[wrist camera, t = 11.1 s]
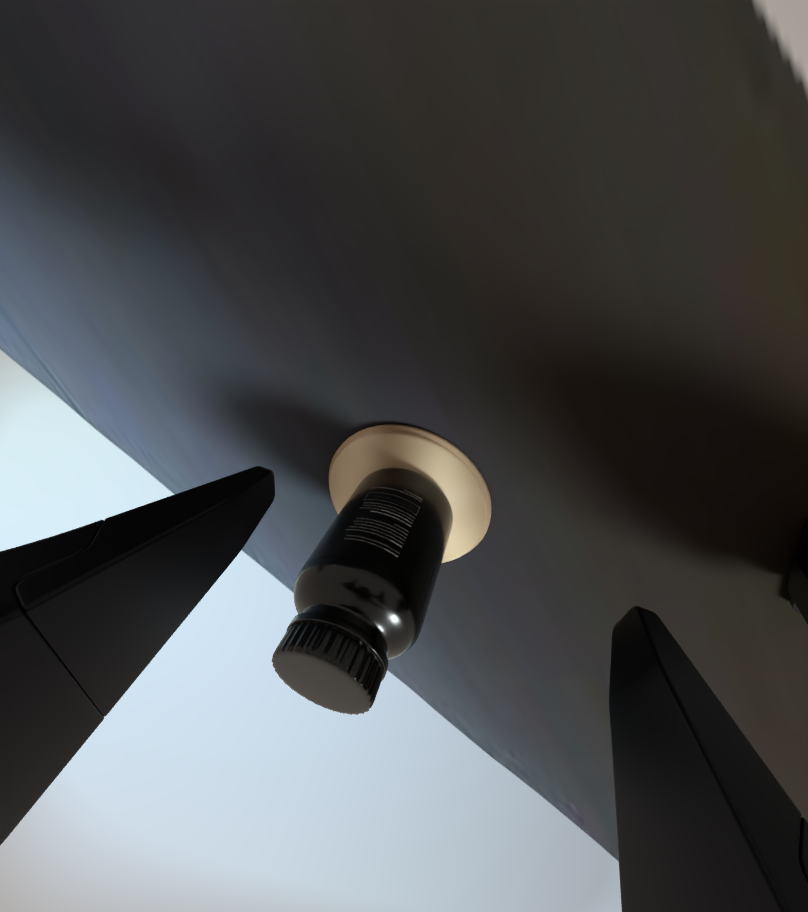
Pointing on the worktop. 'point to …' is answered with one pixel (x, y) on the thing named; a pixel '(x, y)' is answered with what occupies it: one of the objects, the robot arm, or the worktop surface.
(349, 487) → the coaster
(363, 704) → the supplement bottle
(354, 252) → the worktop surface
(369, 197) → the worktop surface
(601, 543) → the worktop surface
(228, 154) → the worktop surface
